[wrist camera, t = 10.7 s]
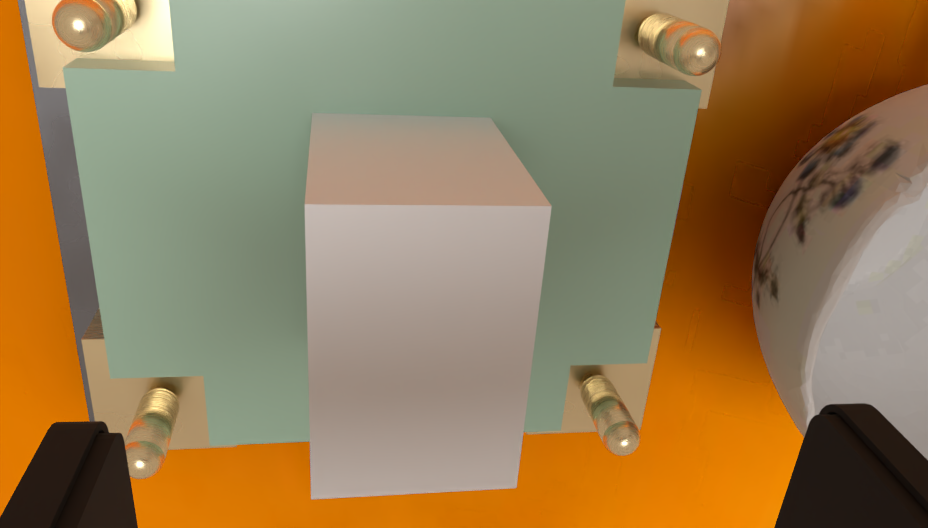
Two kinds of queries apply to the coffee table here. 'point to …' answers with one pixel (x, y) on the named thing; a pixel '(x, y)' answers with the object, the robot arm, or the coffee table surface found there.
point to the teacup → (851, 271)
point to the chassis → (183, 398)
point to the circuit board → (249, 190)
